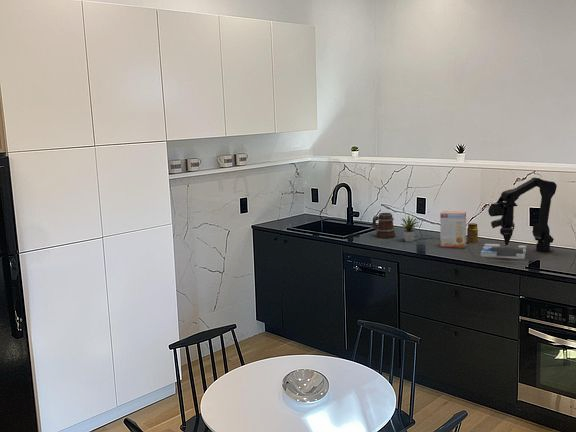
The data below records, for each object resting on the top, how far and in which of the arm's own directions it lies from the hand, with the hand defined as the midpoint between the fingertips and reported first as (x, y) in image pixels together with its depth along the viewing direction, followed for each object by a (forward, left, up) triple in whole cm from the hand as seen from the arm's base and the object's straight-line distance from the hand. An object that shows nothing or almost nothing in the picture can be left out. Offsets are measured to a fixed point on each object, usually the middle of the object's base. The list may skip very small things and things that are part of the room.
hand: (507, 243), depth 322 cm
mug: (+78, -35, -8) cm, 86 cm away
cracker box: (+31, -17, -8) cm, 36 cm away
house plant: (+59, -25, -8) cm, 65 cm away
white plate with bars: (+2, -5, -8) cm, 9 cm away
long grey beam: (0, 0, -7) cm, 7 cm away
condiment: (+22, -27, -8) cm, 36 cm away
